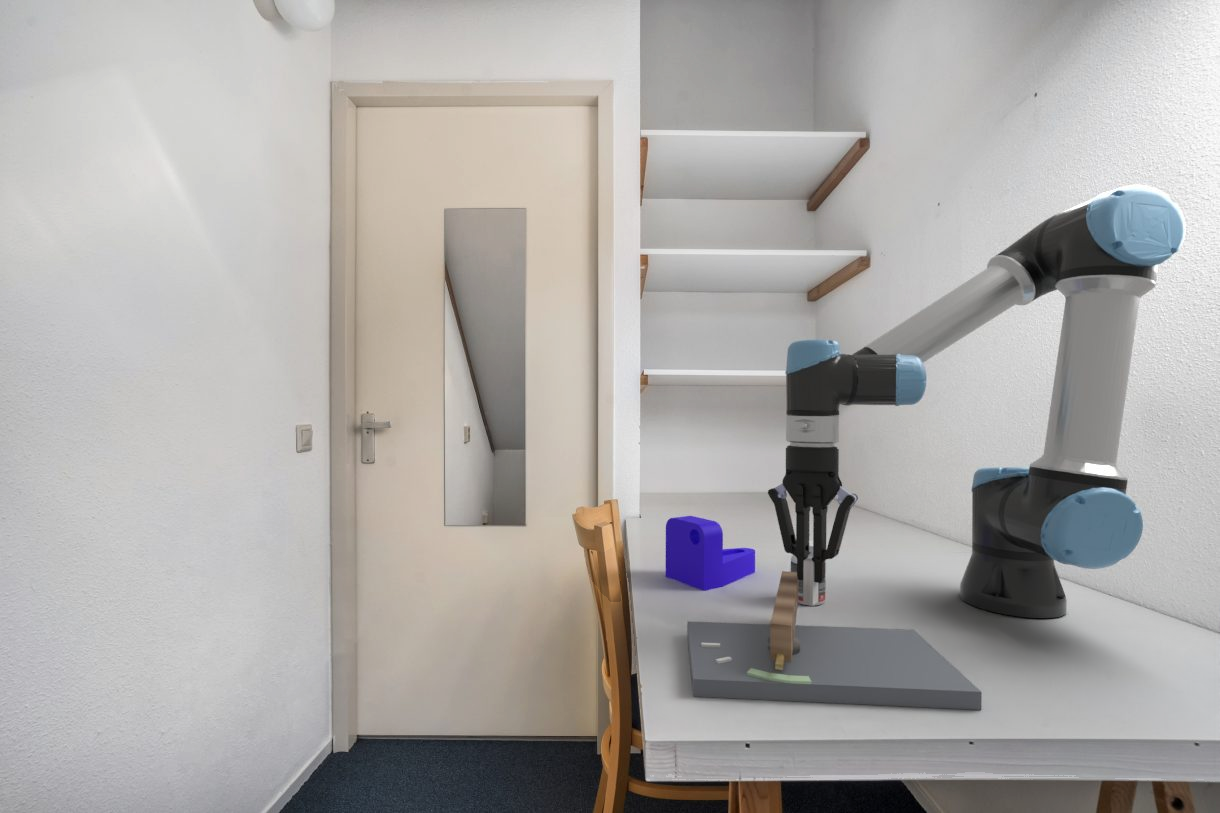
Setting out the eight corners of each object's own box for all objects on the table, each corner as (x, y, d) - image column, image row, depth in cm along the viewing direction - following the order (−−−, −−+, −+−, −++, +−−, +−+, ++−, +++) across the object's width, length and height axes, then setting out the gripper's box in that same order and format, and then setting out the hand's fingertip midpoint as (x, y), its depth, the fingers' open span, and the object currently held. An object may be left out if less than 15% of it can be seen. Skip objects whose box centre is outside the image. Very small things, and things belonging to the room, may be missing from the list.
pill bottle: (827, 607, 104) (828, 547, 103) (791, 605, 105) (792, 545, 105) (822, 596, 109) (823, 540, 109) (789, 594, 110) (789, 538, 110)
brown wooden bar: (776, 605, 98) (777, 570, 98) (803, 607, 97) (803, 572, 97) (760, 678, 72) (761, 631, 72) (797, 683, 71) (797, 635, 71)
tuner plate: (913, 643, 88) (913, 627, 88) (981, 709, 69) (981, 689, 69) (687, 635, 91) (687, 619, 91) (693, 696, 72) (693, 676, 72)
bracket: (703, 591, 112) (704, 525, 112) (665, 577, 121) (665, 516, 121) (772, 576, 122) (773, 516, 122) (732, 564, 131) (733, 508, 131)
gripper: (760, 444, 94) (759, 601, 94) (850, 447, 87) (849, 618, 87) (778, 441, 100) (777, 589, 100) (863, 445, 93) (862, 604, 93)
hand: (810, 602), depth 94 cm, fingers closed
